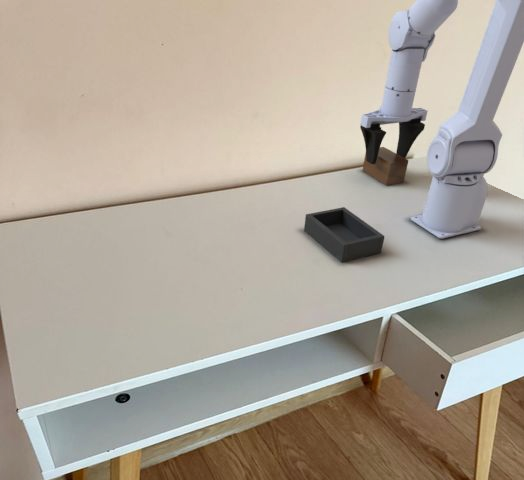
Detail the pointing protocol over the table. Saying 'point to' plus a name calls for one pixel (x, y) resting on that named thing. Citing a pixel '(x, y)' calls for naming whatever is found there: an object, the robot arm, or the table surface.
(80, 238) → the table surface
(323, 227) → the dark gray rectangular tray
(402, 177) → the walnut block
